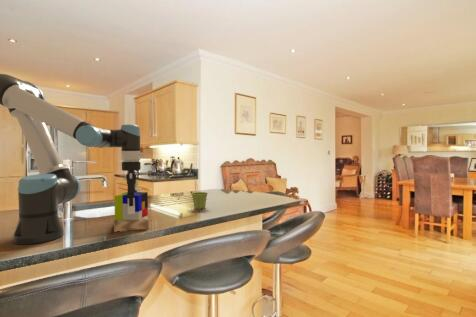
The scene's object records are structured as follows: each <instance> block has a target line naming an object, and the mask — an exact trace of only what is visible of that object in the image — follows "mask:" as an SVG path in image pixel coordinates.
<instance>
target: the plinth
mask: <svg viewBox="0 0 476 317" xmlns="http://www.w3.org/2000/svg"><path fill="white" fill-rule="evenodd" d="M140 229H141V230H148V229H149V214H148V215H146V216H145V217H143V218H141V219H140V220H115V219H114V222H113V232H114V233H118V232H117V231H120V232H128V231H127V230H130V231H139V230H140ZM141 230H140V231H141Z"/></svg>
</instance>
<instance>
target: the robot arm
mask: <svg viewBox="0 0 476 317" xmlns="http://www.w3.org/2000/svg"><path fill="white" fill-rule="evenodd" d="M0 105H1V106H3V107H5V108H7V110H8V112H9V114H10V116H11V117H13V118H16V119H17V122H18V123H19V124H18V125H19V126H20V129H21V131H22V134H23V136H24V138H25V141H26V143H27V145H28V148H29V150H30V153H31V155H32V158H33V160H34V162H35V165H36V166H37V169H38V172H39V173H38V174H31V175H30V174H29V175H26V176H24V177H21V178H20V179H19V180H18V187H17V192H18V197H17V198H18V221H17V224H16V227H15V229H14V232H13V235H12V243H13V244H16V245H31V244H40V243H46V242H50V241H54V240H57V239H59V238H62V237H63V236H64V231H65V230H64V227H63V224H62V222H61V219H60V217H59V215H58V214H59V213H58V211H59V208H58V207H59V205H61V204H66V203H68V202H71V201H72V200H74V199H76V197H78V195H79V194H80V192H81V182H80V180H79V178H78V177H76V176H75V175H73V174H72V173H71V169H70V168H69V166H65V165H64V164H63V162H62V159H61V157H60V154H59V152H58V151H57V147H56V145H55V143H54V141H53V139H52V136H51V133H50V131H49V129H48V126H49V127H51V128H52V129H55V130H57V131H59V132H61V133H63V134H65V135H67V136H69V137H71V138H73V139H75V140H77V142H78V143H79V144H80V145H82V146H84V147H85V146H86V147H89V148H92V147H93V148H99V149H100V148H101V149H103V148H121V152H120V153H121V158H120V159H121V161H122V162H121V170H122V171H126V172H127V171H128V174H127V173H126V174H127V175H126V174H125V175H126V179H127V180H126V185H127V192H128V195H127V196H126V198H128V214H135V198H134V197H135V195H134V192H137V191H135V188H136V187H135V184H136V181H137V174H136V172H135V171H140V170H141V168H142V166H141V164H142V163H141V156H143V154H142V152H141V129H140V126H139V125H137V124H129V123H128V124H122V125H121V126H120V129H105V128H101V127H98V126H95V125H93V124H92V123H89V122H87V121H85V120H84V119H81V118H80V117H78V116H76V115H74V114H71V113H70V112H68V111H66V110H64V109H61V108H60V107H58V106H57V105H54V104H52V103H50V102H48V101H46V100H45V96H44V93H43V91H42V89H41V88H39V87H38V86H37V85H35V84H34V83H32V82H29V81H26V80H22V79H19V78H18V77H15V76H12V75H10V74H7V73H6V74H5V73H0Z"/></svg>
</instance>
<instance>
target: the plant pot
mask: <svg viewBox="0 0 476 317" xmlns="http://www.w3.org/2000/svg"><path fill="white" fill-rule="evenodd" d="M208 193H209V192H205V191H204V192H203V191H200V192H199V191H198V192H197V191H196V192H191V193H190V194H191V197H192V201H193V207H194V210H201V209H202V210H205V209H206V204H207V196H208Z"/></svg>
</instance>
